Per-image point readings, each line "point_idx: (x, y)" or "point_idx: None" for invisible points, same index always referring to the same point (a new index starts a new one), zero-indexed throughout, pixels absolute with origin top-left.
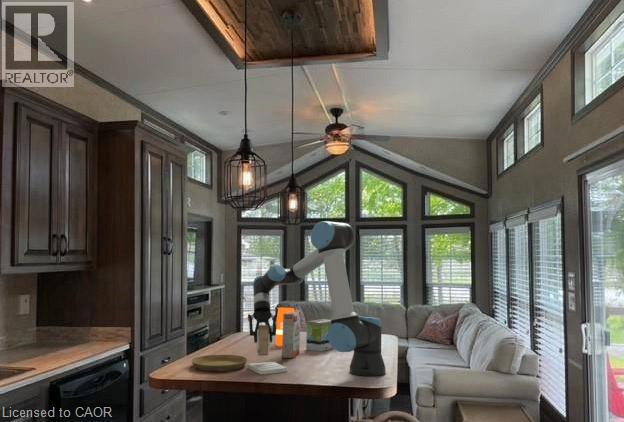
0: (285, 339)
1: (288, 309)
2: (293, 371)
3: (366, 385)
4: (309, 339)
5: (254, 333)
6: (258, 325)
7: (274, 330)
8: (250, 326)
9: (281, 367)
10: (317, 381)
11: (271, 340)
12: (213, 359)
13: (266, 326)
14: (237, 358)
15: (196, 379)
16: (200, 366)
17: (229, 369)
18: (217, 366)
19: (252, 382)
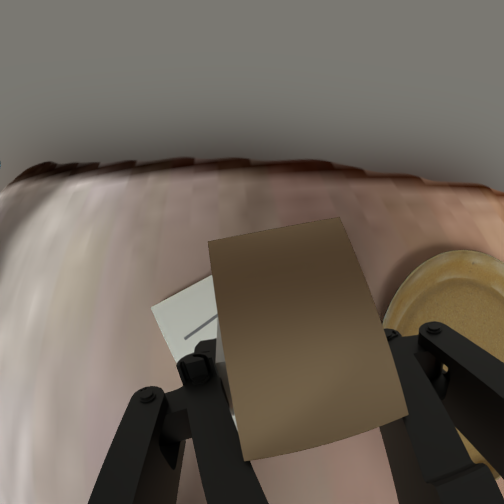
0: None
1: None
2: (130, 320)
3: (19, 192)
4: None
5: (393, 334)
6: (404, 411)
7: (146, 404)
8: (487, 356)
9: (175, 312)
10: (89, 201)
11: (203, 340)
12: None
13: (245, 290)
14: None
15: (444, 190)
16: (497, 268)
17: (413, 293)
18: (448, 254)
19: (278, 168)
